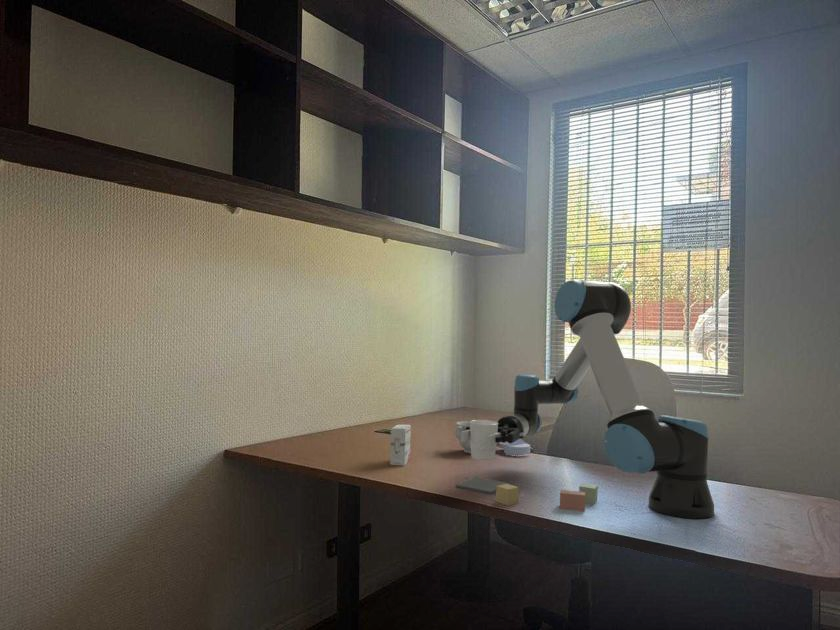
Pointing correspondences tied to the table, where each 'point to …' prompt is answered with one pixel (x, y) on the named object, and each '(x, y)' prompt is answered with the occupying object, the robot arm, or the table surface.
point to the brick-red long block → (572, 500)
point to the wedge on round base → (516, 448)
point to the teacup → (459, 429)
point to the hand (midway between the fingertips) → (475, 438)
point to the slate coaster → (480, 485)
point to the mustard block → (507, 494)
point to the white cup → (482, 439)
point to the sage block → (589, 492)
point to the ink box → (400, 444)
